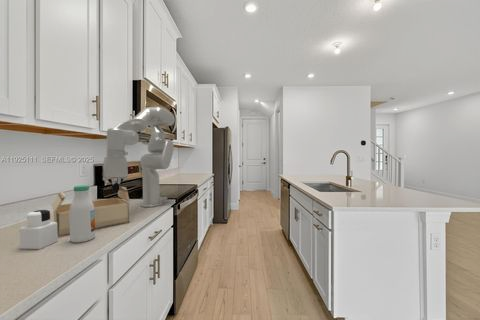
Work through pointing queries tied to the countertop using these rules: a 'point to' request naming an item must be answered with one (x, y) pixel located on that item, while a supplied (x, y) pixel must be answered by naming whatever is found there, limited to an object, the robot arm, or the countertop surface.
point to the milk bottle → (81, 216)
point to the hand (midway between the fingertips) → (115, 192)
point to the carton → (105, 214)
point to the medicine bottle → (38, 231)
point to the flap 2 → (123, 193)
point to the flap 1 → (58, 201)
